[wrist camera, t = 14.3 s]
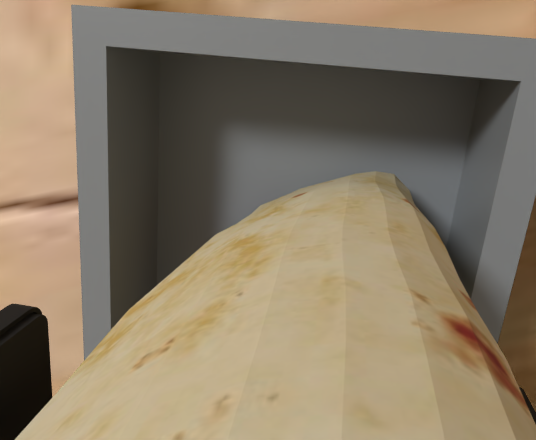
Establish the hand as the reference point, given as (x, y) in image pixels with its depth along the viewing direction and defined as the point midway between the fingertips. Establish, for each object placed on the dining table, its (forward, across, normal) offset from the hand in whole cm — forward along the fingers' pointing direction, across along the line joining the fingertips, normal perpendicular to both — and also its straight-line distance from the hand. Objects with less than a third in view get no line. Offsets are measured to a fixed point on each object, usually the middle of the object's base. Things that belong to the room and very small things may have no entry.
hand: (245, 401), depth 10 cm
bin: (+10, 0, 0) cm, 10 cm away
